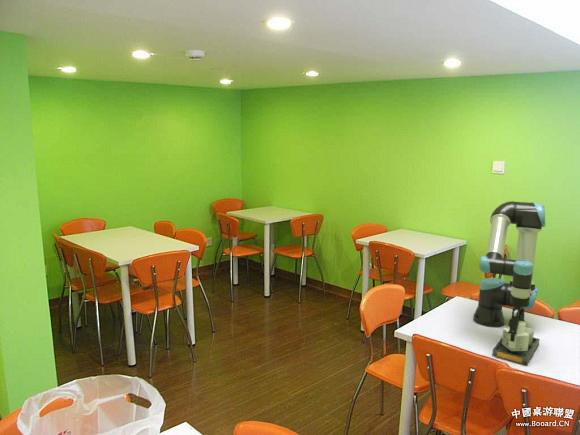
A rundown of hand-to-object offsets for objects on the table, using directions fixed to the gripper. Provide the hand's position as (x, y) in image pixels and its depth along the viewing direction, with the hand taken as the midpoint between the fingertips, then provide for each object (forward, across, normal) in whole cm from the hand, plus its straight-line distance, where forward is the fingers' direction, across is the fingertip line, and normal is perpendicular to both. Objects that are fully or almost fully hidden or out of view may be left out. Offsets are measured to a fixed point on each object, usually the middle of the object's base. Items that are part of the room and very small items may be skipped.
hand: (514, 343), depth 200 cm
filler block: (+3, +13, 0) cm, 13 cm away
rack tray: (+5, +5, 0) cm, 7 cm away
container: (+2, 0, 0) cm, 2 cm away
